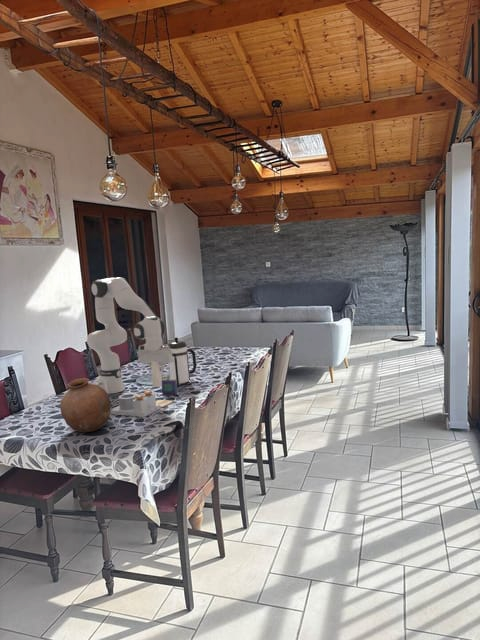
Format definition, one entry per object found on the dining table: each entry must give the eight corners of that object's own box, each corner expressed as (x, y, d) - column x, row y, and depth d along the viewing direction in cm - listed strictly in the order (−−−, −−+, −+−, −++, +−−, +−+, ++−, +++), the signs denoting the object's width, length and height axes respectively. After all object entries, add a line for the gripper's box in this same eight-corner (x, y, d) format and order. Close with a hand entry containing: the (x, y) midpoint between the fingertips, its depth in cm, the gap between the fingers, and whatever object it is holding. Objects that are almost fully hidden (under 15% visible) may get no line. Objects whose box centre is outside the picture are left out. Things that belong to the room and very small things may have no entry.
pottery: (117, 419, 242) (111, 371, 238) (106, 436, 219) (100, 384, 215) (72, 423, 241) (66, 375, 238) (56, 440, 218) (49, 388, 215)
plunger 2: (143, 405, 252) (142, 392, 251) (148, 402, 256) (147, 390, 255) (150, 405, 250) (148, 393, 250) (155, 403, 254) (153, 390, 253)
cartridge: (150, 385, 260) (149, 359, 257) (157, 383, 263) (156, 357, 261) (156, 387, 257) (155, 360, 254) (163, 385, 260) (162, 358, 258)
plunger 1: (134, 409, 246) (133, 396, 245) (139, 406, 249) (138, 394, 249) (141, 410, 244) (140, 397, 243) (146, 407, 248) (145, 394, 247)
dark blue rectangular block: (178, 393, 279) (176, 376, 278) (176, 395, 277) (174, 377, 275) (163, 394, 282) (161, 376, 280) (161, 395, 279) (159, 377, 277)
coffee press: (189, 387, 292) (185, 339, 288) (165, 387, 296) (160, 340, 291) (197, 379, 309) (193, 334, 305) (174, 379, 312) (170, 335, 308)
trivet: (147, 406, 259) (147, 405, 259) (158, 400, 268) (158, 399, 268) (162, 407, 255) (162, 406, 255) (173, 401, 264) (172, 400, 264)
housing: (110, 413, 252) (108, 399, 251) (127, 405, 264) (125, 391, 263) (144, 417, 242) (143, 401, 241) (160, 408, 255) (158, 393, 254)
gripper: (173, 344, 256) (176, 369, 258) (142, 344, 264) (145, 368, 266) (167, 347, 250) (169, 372, 252) (135, 346, 259) (138, 371, 261)
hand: (157, 370), depth 259 cm, fingers closed on cartridge, 5 cm apart
